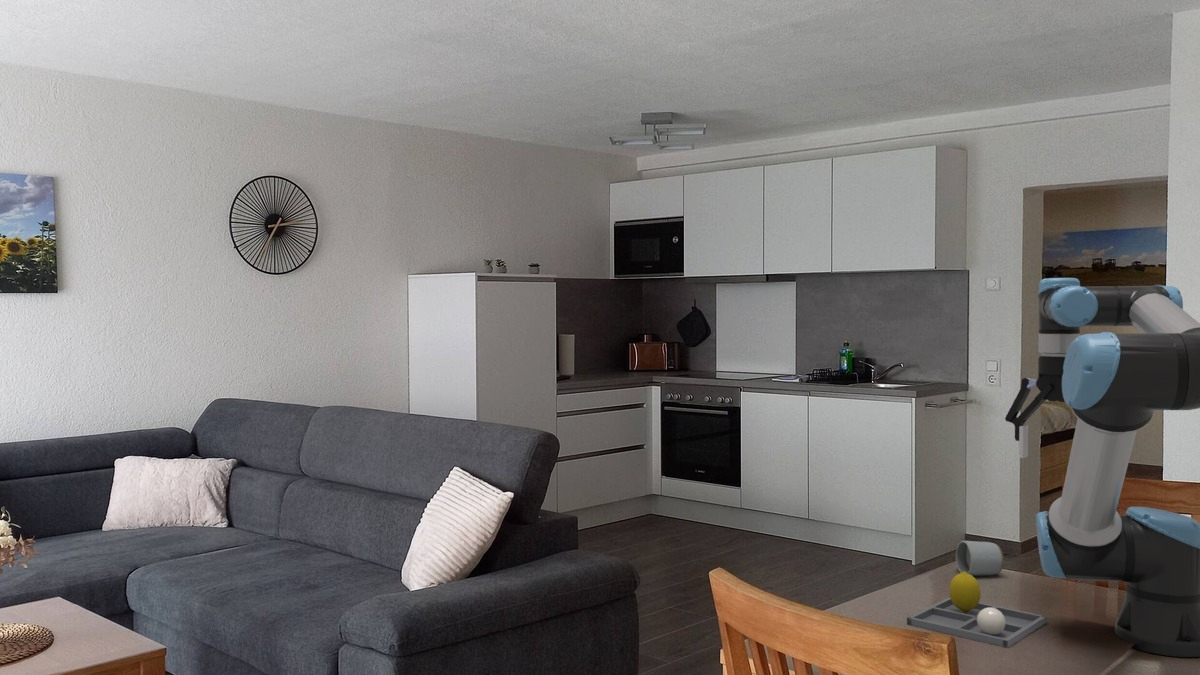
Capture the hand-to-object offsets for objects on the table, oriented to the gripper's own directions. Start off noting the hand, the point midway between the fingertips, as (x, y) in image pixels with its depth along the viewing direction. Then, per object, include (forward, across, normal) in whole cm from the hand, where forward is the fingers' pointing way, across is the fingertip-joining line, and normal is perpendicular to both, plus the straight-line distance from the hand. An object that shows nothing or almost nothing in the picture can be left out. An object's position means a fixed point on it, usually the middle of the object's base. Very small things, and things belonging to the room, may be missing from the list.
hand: (1058, 460), depth 194 cm
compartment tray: (+29, +5, +27) cm, 40 cm away
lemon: (+28, +9, +23) cm, 37 cm away
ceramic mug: (+29, +21, -11) cm, 37 cm away
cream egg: (+28, +1, +31) cm, 42 cm away
